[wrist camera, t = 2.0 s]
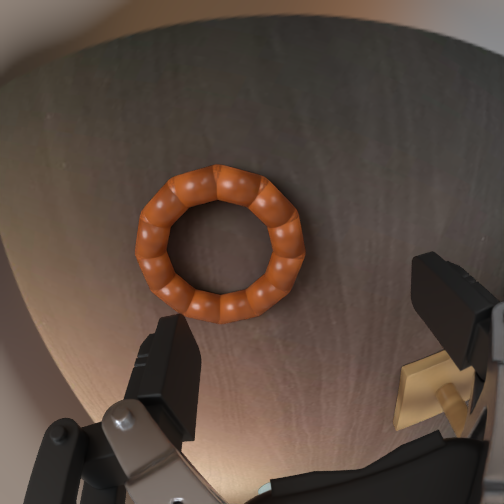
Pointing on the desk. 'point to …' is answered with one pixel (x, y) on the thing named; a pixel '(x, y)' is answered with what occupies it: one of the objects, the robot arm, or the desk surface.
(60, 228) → the desk surface
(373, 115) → the desk surface
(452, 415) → the stand
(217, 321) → the ring
